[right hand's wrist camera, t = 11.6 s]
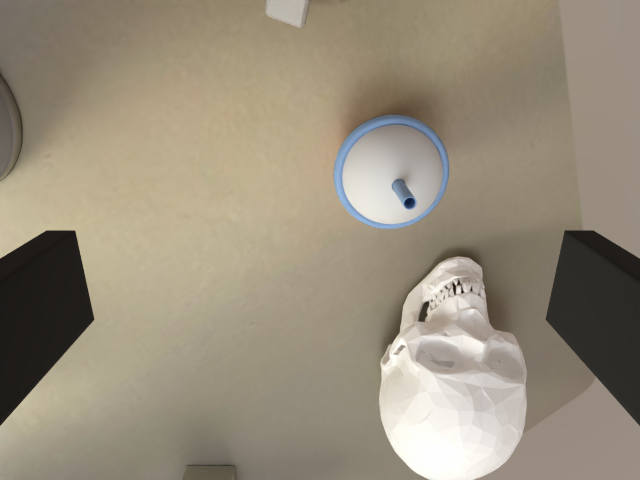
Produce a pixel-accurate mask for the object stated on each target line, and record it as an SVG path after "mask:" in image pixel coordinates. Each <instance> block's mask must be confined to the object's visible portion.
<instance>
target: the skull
mask: <svg viewBox="0 0 640 480" xmlns="http://www.w3.org/2000/svg"><path fill="white" fill-rule="evenodd" d="M482 277H483V273H482V268H481V267H480V266H479V265H478V264H477V263H475V262H474V261H473V260H471V259H470V258H467V257H459V256H458V257H453V258H448V259H446V260H444V261H442V262H440V263H439V264H438V265H437V266H436V267H435V268H434V269H433V270H432V271H431V272H430V273H429V274H428V275H427V276H426V277H425V278H424V279H423V280H422V281H421V282H420V283H419V284H418V285H417V286H416V287H415V288H414V289H413V290H412V291H411V292H410V293H409V294H408V296H407V299H406V301H405V303H404V306H403V312H402V322H401V325H400V333H399V334H398V336H397V337H396V339H395V340H394V342H393V344H389V346H388V348H387V350H386V353H385V355H384V356H383V357H382V359H381V361H380V363H381V369H382V382H381V387H380V395H379V405H380V414H381V419H382V423H383V426H384V429H385V432H386V434H387V437H388V439H389V441H390V443H391V445H392V447H393V449H394V451H395V452H396V453H397V454H398V455H399V456H400V458H401V459H402V460H403V461H404V462H405V463H406V464H407V465H408V466H409V467H410V468H411V469H412V470H413V471H415V472H416V473H417V474H419V475H421V476H423V477H425V478H427V479H430V480H474V479H477V478H479V477H482V476H484V475H486V474H488V473H490V472H492V471H494V470H495V469H497V468H499V467H500V466H501V465H502V464H503V463H505V462H506V461H507V460H508V458H509V457H510V456H511V454H512V453H513V451H514V449H515V447H516V446H517V444H518V442H519V441H520V438H521V437H522V434H523V429H524V425H525V417H526V408H527V402H526V387H525V383H526V378H527V370H526V365H525V361H524V357H523V353H522V350H521V348H520V346H519V344H518V342H517V340H516V338H515V337H514V336H513V334H512V333H509V332H502V331H498V330H494V329H493V327H492V326H491V324H490V323H489V318H488V312H487V303H486V294H485V292H484V288H485V286H484V284H483V281H482ZM458 280H460V284H462V288H463V291H464V293H463V294H461V285H457V283H458ZM452 283H455V285H456V295H454V292H453V286H452ZM471 286H472V291H471V292H470V289H471ZM446 287H448V288H449V290H450V291H448V289H447V290H446ZM449 295H450V296H449ZM444 297H445V299H444ZM432 300H433V301H432ZM427 301H430V302H429V307H428V310H427V314H428V316H427V317H426V318H425V322H418V319H419V316H420V313H421V310H422V307H423V304H424V303H425V302H427Z"/></svg>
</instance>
